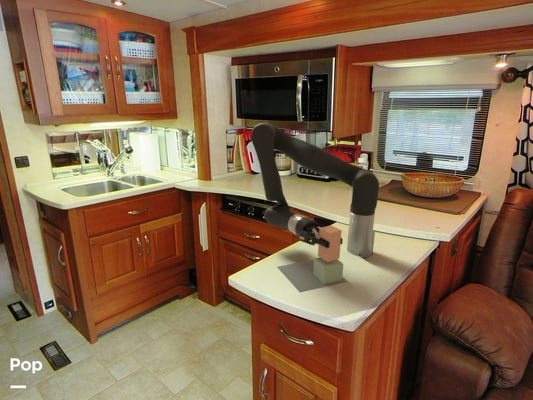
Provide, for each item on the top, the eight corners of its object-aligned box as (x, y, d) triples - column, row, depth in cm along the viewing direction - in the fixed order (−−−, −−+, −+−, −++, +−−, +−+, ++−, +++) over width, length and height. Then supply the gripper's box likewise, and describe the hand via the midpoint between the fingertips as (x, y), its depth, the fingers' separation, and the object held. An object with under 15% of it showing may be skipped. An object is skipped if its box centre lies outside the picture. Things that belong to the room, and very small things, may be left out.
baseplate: (320, 261, 129) (320, 258, 129) (348, 284, 113) (348, 281, 113) (276, 269, 123) (276, 266, 123) (299, 294, 107) (299, 292, 107)
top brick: (329, 252, 117) (331, 225, 114) (339, 258, 113) (341, 230, 110) (317, 256, 114) (319, 228, 111) (327, 262, 110) (329, 233, 107)
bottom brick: (330, 270, 120) (331, 255, 118) (342, 280, 114) (343, 263, 112) (313, 274, 118) (314, 258, 116) (323, 284, 111) (324, 267, 110)
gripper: (286, 220, 119) (318, 237, 105) (318, 213, 126) (352, 228, 112) (286, 240, 121) (317, 259, 107) (317, 232, 128) (350, 249, 114)
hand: (335, 243), depth 110 cm, fingers closed on top brick, 5 cm apart
